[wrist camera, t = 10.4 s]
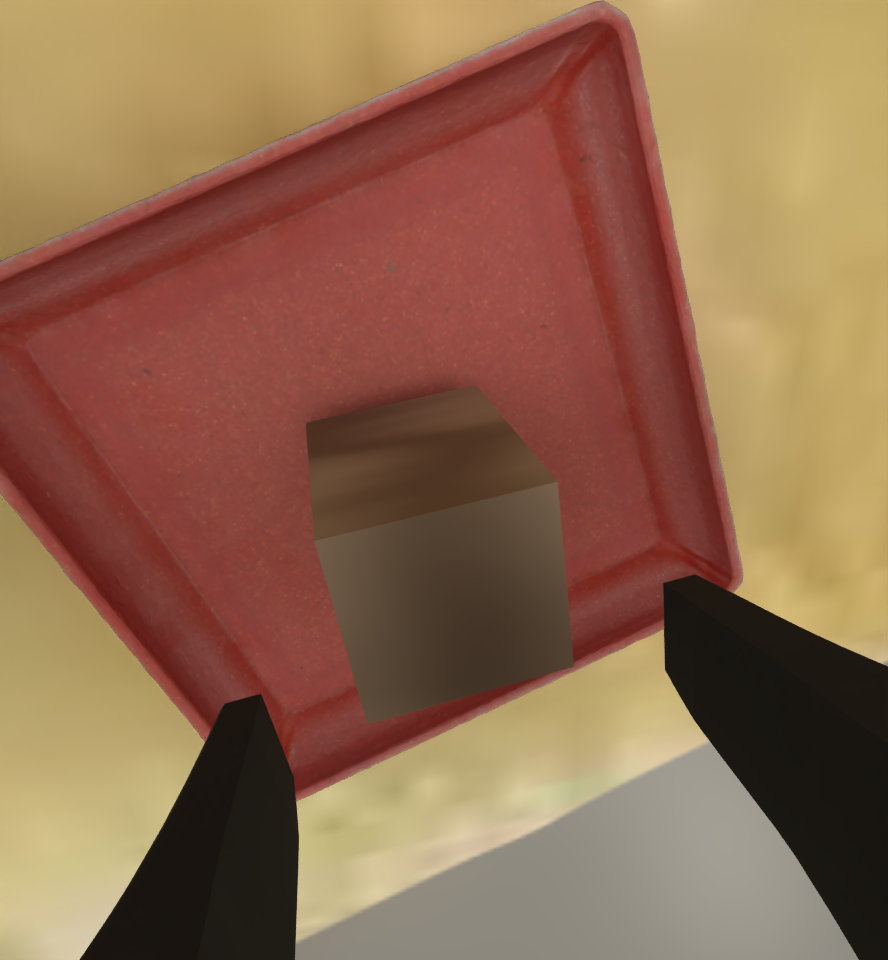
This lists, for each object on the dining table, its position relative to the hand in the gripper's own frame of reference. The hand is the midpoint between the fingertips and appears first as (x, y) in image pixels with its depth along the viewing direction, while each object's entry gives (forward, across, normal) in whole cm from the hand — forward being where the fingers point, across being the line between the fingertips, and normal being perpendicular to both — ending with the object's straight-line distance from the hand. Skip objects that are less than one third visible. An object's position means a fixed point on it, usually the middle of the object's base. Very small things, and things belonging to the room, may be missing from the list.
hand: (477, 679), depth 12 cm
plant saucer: (+11, 0, 0) cm, 11 cm away
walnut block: (+8, 0, 0) cm, 8 cm away
